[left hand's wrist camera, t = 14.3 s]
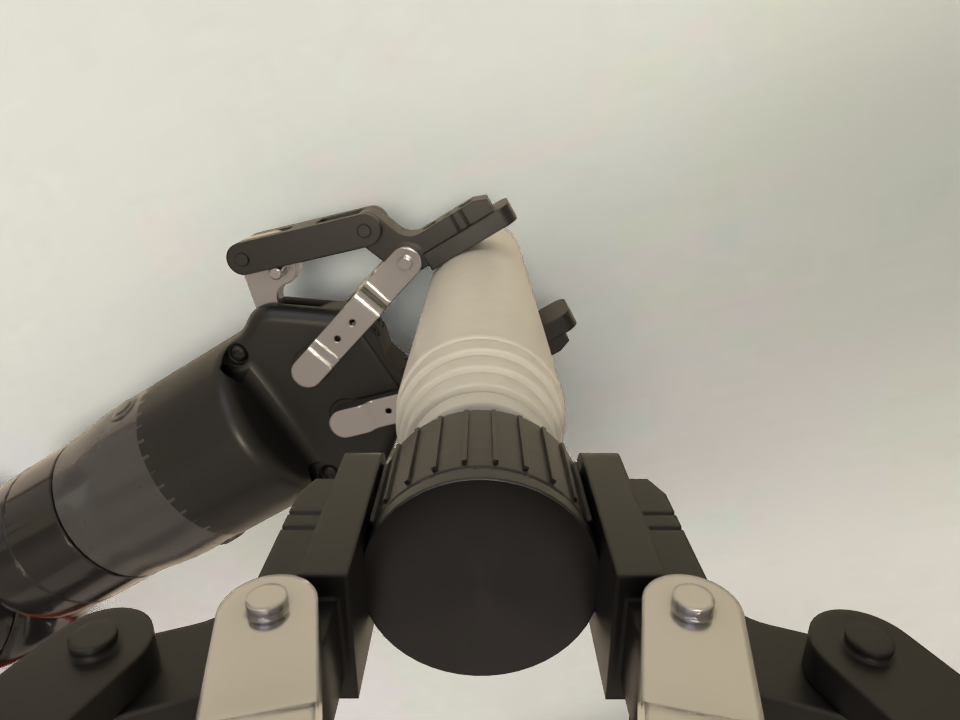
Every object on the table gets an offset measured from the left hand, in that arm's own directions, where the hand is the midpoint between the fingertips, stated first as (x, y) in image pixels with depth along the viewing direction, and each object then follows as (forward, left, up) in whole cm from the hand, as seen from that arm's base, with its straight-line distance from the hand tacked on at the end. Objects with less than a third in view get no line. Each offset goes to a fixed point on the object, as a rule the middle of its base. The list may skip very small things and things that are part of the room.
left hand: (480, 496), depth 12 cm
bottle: (0, 0, -22) cm, 22 cm away
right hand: (0, -3, -15) cm, 15 cm away
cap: (0, 0, +2) cm, 2 cm away
